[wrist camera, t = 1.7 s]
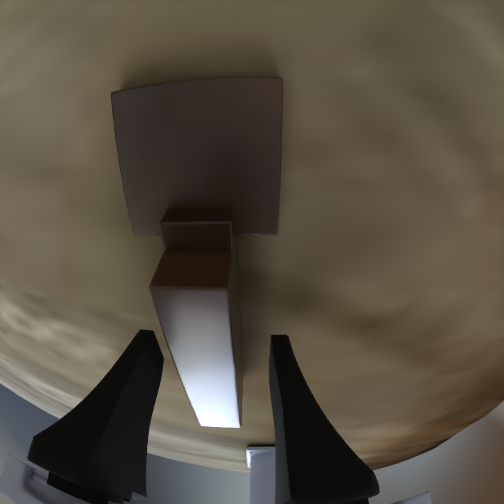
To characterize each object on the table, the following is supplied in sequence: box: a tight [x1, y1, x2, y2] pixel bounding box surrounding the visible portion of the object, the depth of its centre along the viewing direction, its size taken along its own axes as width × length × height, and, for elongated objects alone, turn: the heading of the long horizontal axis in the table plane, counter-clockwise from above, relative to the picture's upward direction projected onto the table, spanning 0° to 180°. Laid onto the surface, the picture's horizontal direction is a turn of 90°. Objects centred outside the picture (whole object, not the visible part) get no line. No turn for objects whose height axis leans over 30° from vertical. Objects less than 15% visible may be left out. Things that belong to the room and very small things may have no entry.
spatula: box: [111, 77, 283, 428], centre depth 10 cm, size 15×5×3 cm, turn 0°
